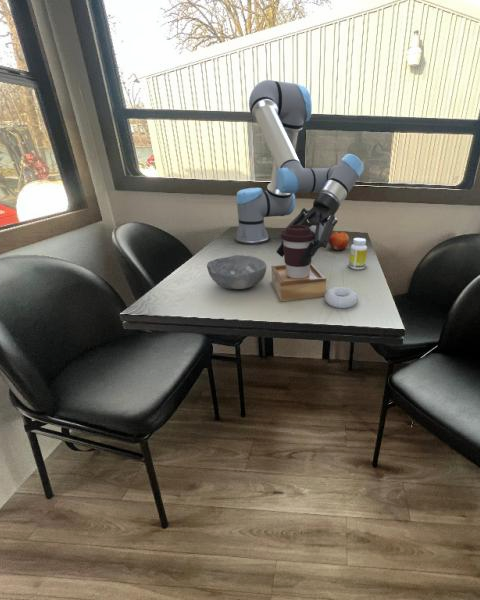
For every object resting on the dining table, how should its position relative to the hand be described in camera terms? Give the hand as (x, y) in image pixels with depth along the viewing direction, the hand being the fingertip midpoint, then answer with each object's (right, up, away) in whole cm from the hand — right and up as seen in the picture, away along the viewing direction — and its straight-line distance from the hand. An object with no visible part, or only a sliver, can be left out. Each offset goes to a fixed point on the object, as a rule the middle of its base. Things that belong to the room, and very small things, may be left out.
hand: (290, 258), depth 88 cm
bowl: (-17, -8, +8) cm, 20 cm away
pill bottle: (+23, 0, +27) cm, 36 cm away
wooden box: (+2, -9, +7) cm, 11 cm away
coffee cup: (+2, -5, +5) cm, 7 cm away
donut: (+15, -13, 0) cm, 20 cm away
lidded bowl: (+9, +20, +65) cm, 69 cm away
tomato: (+17, +11, +48) cm, 52 cm away
